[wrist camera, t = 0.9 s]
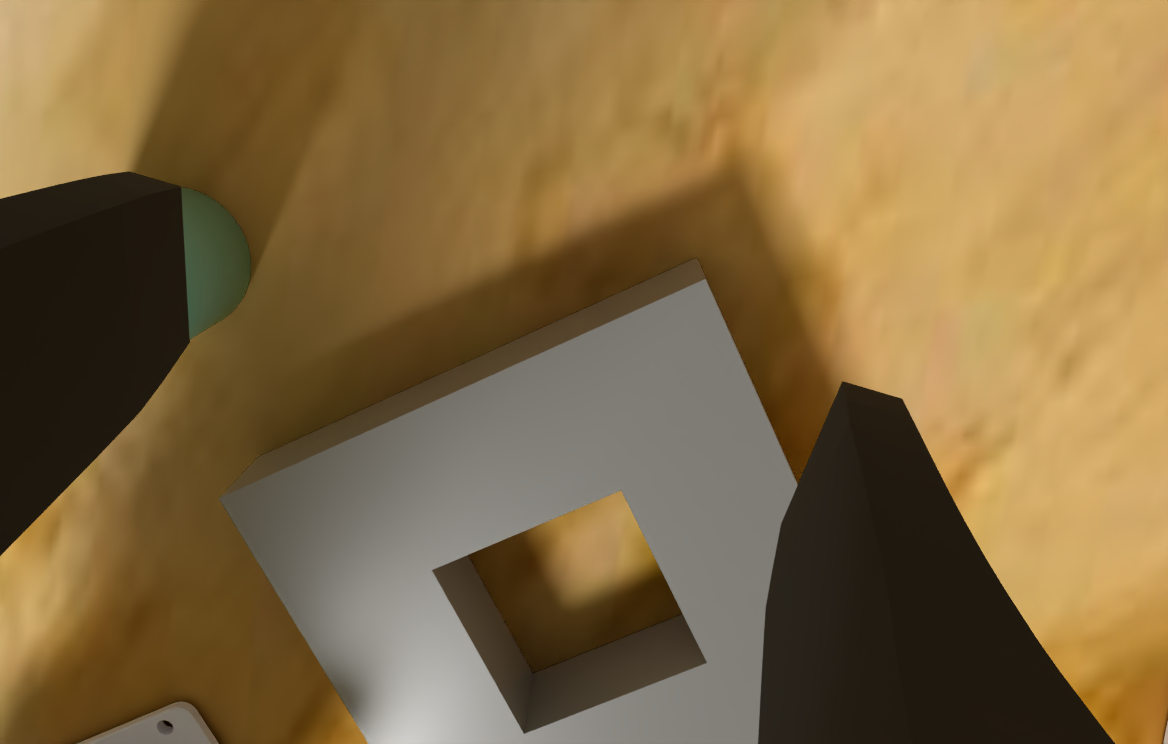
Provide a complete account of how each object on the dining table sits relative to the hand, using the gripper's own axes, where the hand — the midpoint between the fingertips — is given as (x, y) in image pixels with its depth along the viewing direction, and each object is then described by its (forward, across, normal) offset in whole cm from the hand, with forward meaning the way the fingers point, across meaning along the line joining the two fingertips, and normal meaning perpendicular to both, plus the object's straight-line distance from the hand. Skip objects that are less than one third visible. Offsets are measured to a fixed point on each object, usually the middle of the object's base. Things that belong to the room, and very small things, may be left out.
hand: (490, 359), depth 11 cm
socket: (+13, -1, +16) cm, 20 cm away
